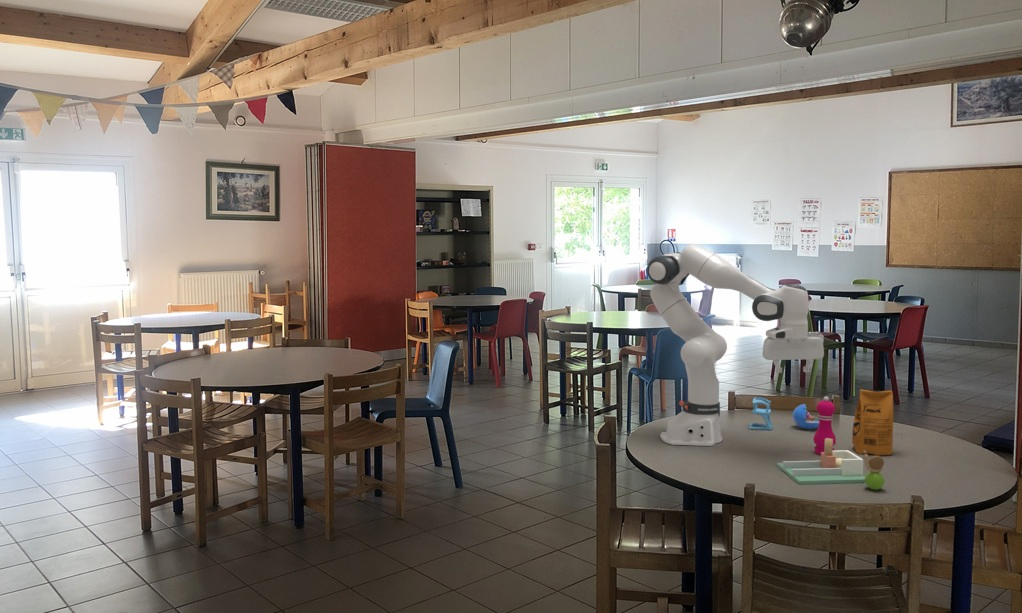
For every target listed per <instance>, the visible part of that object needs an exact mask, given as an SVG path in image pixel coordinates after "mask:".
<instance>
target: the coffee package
mask: <svg viewBox="0 0 1022 613" xmlns="http://www.w3.org/2000/svg"><path fill="white" fill-rule="evenodd" d="M893 394H894V393H893V391H892V390H883V391H873V390H866V389H861V388H859V398H858V401H857V405H856V408H855V409H856V410H855V412H854V420H853V425H852V433H851V434H852V437H851V438H852V441H851V442H852V444H853V449H854V452H855V453H857V454H859V455H865V452H863V451H866V454H867V455H868V454H870V455H873V456H891V455H892V454H893V442H894V440H893V437H894V431H893V430H894V403H893V400H894V395H893Z"/></svg>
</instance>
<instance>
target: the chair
mask: <svg viewBox="0 0 1022 613" xmlns="http://www.w3.org/2000/svg"><path fill="white" fill-rule="evenodd" d="M771 403H772V401H771V400H768V399H767V398H764V397H756V396H755V397H753V399H752V408H753V409H752V410H751V414H752V415H753V414H754V415H758V416H760V417H762V418H763V419H764V422H765V423H766V424H763V423H758V422H751V423H750V424H749V427H748V430H750V429H753V431H754V430H756V429H758V430H759V431H772V430H773V422H772V419H771V416H770V414H771V412H772V408H770V406H771ZM759 404H760V405H763V406H765V408H759V407H758V405H759ZM755 425H756V426H755ZM758 430H757V431H758Z"/></svg>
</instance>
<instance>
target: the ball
mask: <svg viewBox="0 0 1022 613" xmlns="http://www.w3.org/2000/svg"><path fill="white" fill-rule="evenodd" d="M841 463H842V458H836V463H835V468H841Z"/></svg>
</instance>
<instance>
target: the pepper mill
mask: <svg viewBox="0 0 1022 613" xmlns="http://www.w3.org/2000/svg"><path fill="white" fill-rule="evenodd" d="M835 406H836V405H835V404H834V403H833V402H832V401H830V398H829V397H828V396H824V397H823V398H822V400H820V401H819V402H818V403H817V404H816V412H818V413H817V417H818V419H819V427H818V428H816V429H817V430H816V431H815V433H814V435H813V444H815V446H814V453H816V454H818V455H820V456H821V452H824V447H825V438H830V439H833V451H835V448H834V446H835V445H836V442H837V440H836V439H837V438H836V436H835V433H834V430H833V428H832V421H833V419H834V413H836V412H835V411H836V407H835Z"/></svg>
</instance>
